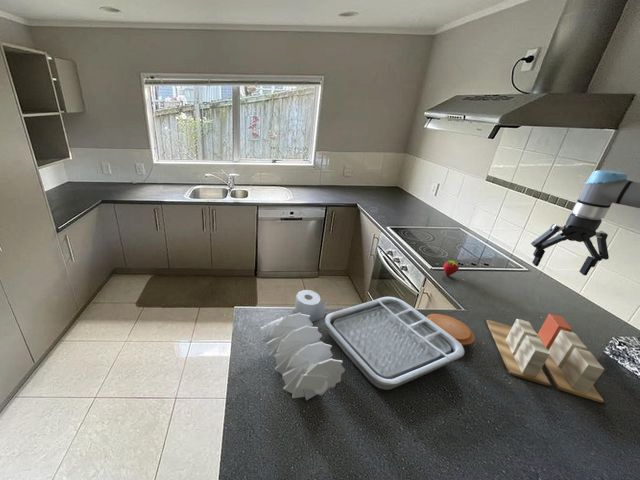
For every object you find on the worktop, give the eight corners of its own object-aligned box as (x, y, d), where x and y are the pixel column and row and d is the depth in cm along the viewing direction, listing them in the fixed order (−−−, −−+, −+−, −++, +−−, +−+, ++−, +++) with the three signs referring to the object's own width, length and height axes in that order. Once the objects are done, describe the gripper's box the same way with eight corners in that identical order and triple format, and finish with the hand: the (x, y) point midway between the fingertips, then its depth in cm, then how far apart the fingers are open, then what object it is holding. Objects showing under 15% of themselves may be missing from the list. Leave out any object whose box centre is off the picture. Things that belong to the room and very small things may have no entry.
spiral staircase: (291, 349, 101) (331, 413, 79) (250, 343, 93) (281, 413, 71) (314, 307, 98) (362, 362, 76) (273, 297, 90) (313, 355, 68)
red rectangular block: (537, 334, 105) (549, 313, 101) (549, 337, 104) (561, 316, 100) (545, 347, 99) (558, 326, 95) (558, 351, 98) (572, 329, 94)
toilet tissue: (330, 315, 113) (333, 298, 109) (303, 325, 107) (305, 307, 104) (316, 302, 120) (318, 285, 117) (290, 310, 114) (291, 293, 111)
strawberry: (458, 277, 142) (464, 260, 138) (448, 280, 139) (455, 263, 135) (446, 271, 147) (452, 254, 143) (437, 274, 144) (443, 257, 140)
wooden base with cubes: (486, 321, 112) (496, 299, 108) (517, 329, 109) (528, 307, 104) (509, 374, 90) (523, 348, 86) (549, 386, 86) (566, 360, 82)
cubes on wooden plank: (523, 331, 108) (535, 308, 104) (557, 340, 104) (571, 317, 100) (557, 389, 86) (575, 363, 81) (602, 403, 82) (623, 376, 78)
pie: (477, 357, 96) (483, 346, 94) (427, 344, 100) (430, 333, 98) (464, 327, 109) (468, 317, 107) (419, 316, 114) (423, 306, 112)
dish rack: (316, 330, 105) (318, 313, 102) (389, 308, 118) (394, 292, 115) (378, 408, 78) (384, 389, 75) (465, 369, 91) (473, 351, 88)
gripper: (629, 219, 94) (597, 272, 103) (535, 206, 103) (512, 256, 112) (646, 226, 88) (610, 283, 96) (544, 213, 97) (520, 265, 105)
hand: (558, 269), depth 104 cm, fingers open, 13 cm apart
